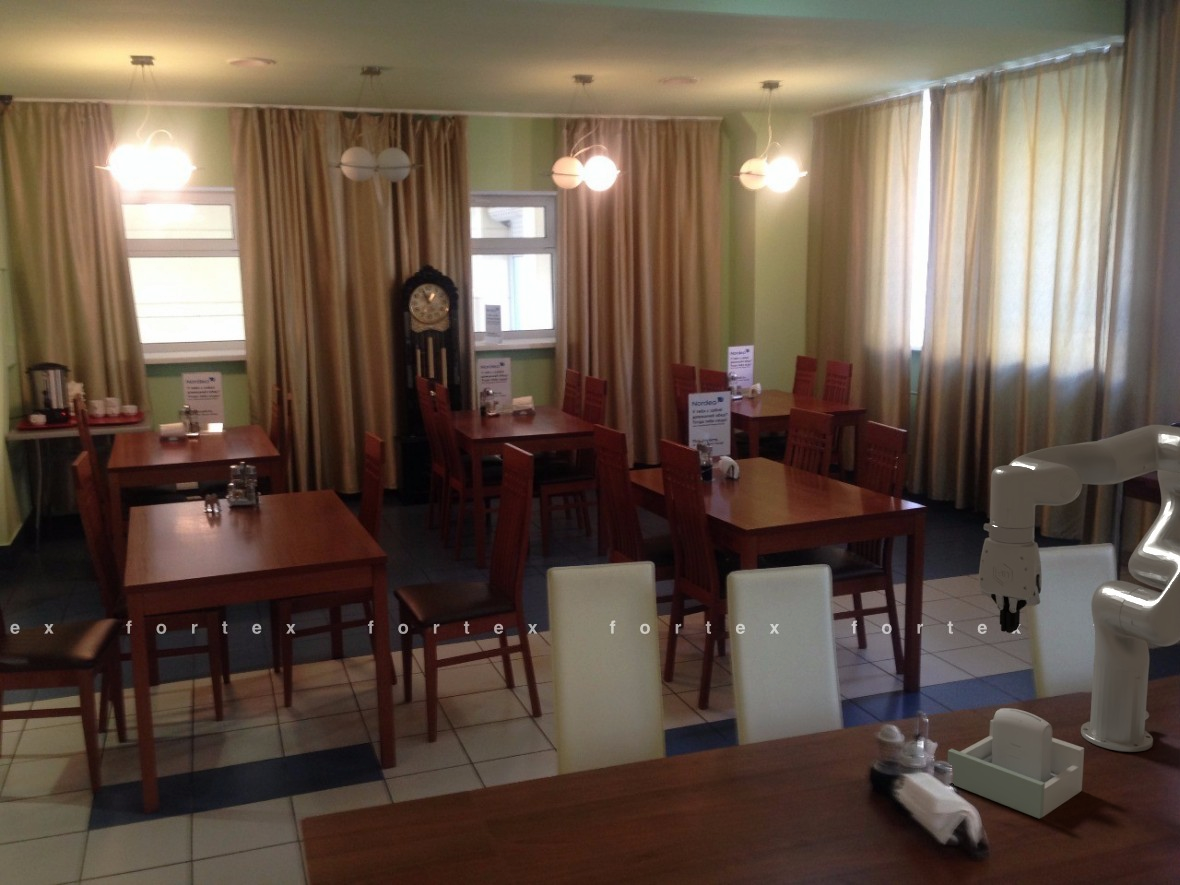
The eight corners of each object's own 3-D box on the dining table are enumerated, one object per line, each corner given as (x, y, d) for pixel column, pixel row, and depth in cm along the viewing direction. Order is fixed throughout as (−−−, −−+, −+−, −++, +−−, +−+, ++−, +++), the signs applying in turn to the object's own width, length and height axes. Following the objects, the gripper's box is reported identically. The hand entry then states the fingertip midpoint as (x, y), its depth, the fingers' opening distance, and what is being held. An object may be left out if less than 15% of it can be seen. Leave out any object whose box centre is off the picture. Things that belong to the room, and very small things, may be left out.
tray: (986, 760, 193) (987, 729, 192) (1077, 793, 180) (1079, 760, 179) (946, 782, 185) (947, 750, 184) (1039, 819, 171) (1041, 785, 171)
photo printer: (987, 771, 187) (990, 706, 185) (999, 764, 189) (1002, 700, 187) (1042, 791, 179) (1045, 724, 177) (1054, 784, 181) (1057, 717, 180)
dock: (992, 758, 194) (994, 718, 193) (1081, 790, 181) (1084, 747, 180) (952, 781, 185) (953, 739, 184) (1042, 817, 173) (1045, 772, 171)
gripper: (963, 531, 190) (961, 626, 193) (1042, 544, 178) (1039, 645, 181) (984, 523, 194) (982, 616, 197) (1062, 536, 183) (1059, 635, 186)
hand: (1009, 630), depth 189 cm, fingers closed
